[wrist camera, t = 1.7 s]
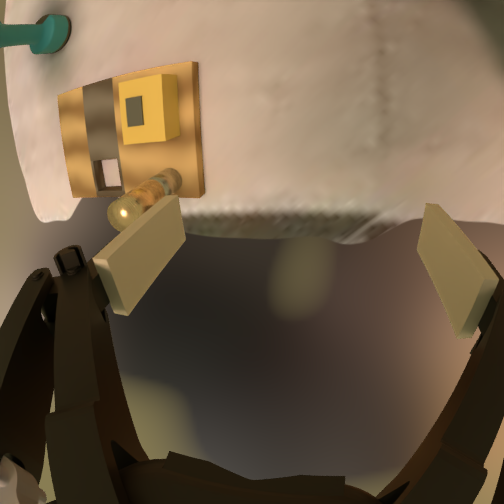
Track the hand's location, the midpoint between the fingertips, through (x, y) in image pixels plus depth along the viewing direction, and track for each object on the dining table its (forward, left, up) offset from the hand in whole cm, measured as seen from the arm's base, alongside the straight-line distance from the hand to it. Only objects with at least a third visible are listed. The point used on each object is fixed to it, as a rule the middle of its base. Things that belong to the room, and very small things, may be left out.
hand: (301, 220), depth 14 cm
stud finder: (-6, -19, -20) cm, 28 cm away
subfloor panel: (-2, -26, -22) cm, 34 cm away
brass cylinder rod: (+4, -18, -20) cm, 27 cm away
